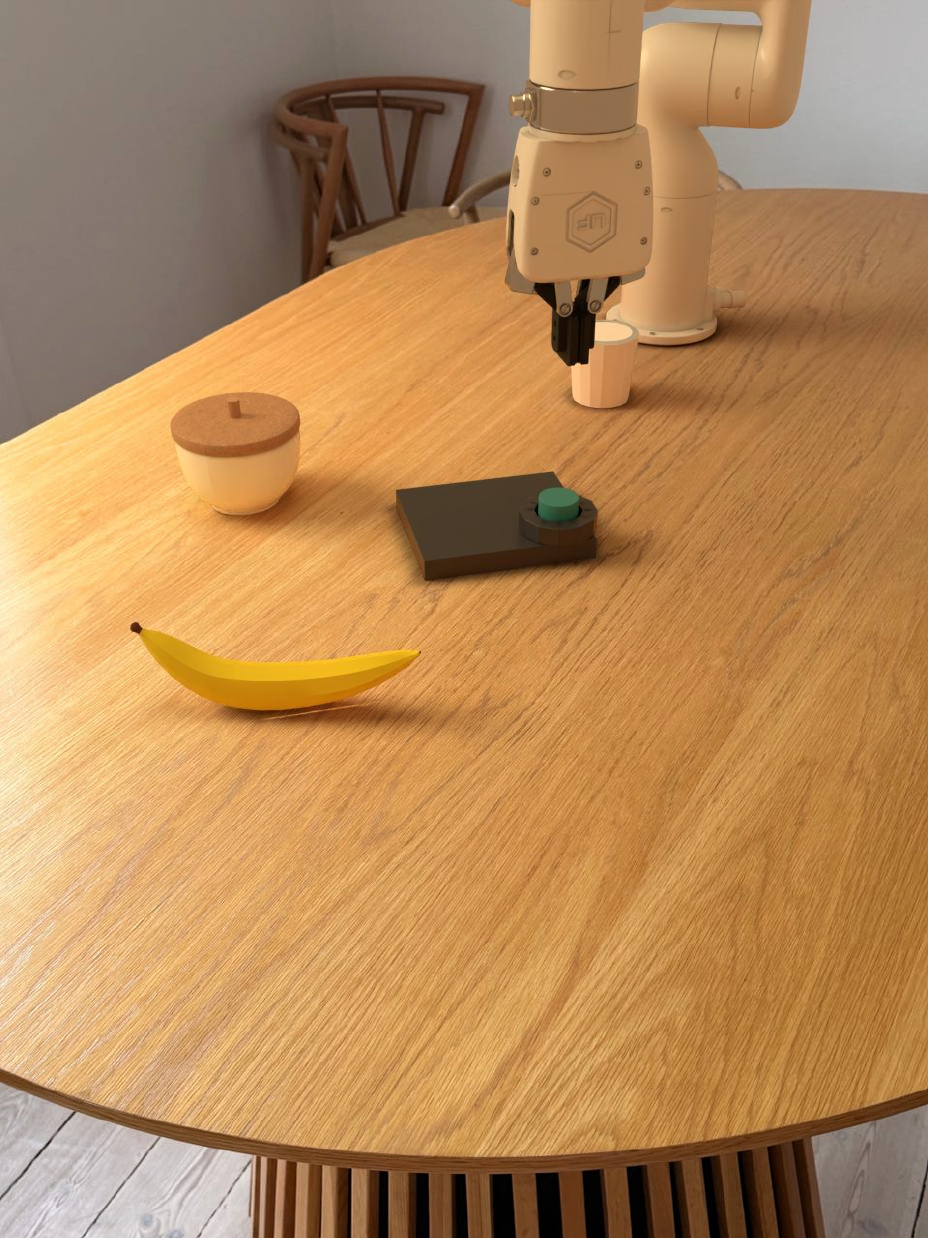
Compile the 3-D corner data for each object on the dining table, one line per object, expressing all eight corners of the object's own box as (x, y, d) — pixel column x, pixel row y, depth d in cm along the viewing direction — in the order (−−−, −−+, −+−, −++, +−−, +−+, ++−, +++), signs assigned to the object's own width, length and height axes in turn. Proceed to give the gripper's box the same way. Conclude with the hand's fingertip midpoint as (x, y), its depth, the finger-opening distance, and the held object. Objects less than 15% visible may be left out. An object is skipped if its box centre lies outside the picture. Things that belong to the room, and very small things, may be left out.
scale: (558, 489, 107) (560, 453, 105) (604, 561, 97) (607, 523, 95) (396, 508, 104) (394, 472, 102) (426, 585, 94) (425, 546, 92)
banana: (420, 725, 80) (418, 646, 77) (138, 714, 81) (123, 636, 78) (425, 698, 83) (422, 620, 79) (151, 687, 84) (136, 611, 80)
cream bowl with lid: (326, 480, 109) (318, 382, 103) (273, 538, 100) (261, 434, 95) (220, 463, 112) (207, 367, 106) (159, 518, 103) (142, 416, 98)
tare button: (571, 502, 99) (572, 485, 98) (583, 521, 96) (584, 503, 95) (533, 506, 98) (533, 489, 97) (544, 525, 96) (545, 508, 95)
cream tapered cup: (633, 384, 126) (638, 319, 122) (635, 412, 120) (640, 344, 116) (567, 382, 127) (570, 317, 123) (565, 409, 121) (568, 342, 117)
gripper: (493, 127, 79) (492, 389, 90) (705, 112, 82) (680, 366, 93) (464, 103, 85) (466, 351, 96) (662, 90, 88) (643, 331, 99)
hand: (571, 358), depth 94 cm, fingers closed
